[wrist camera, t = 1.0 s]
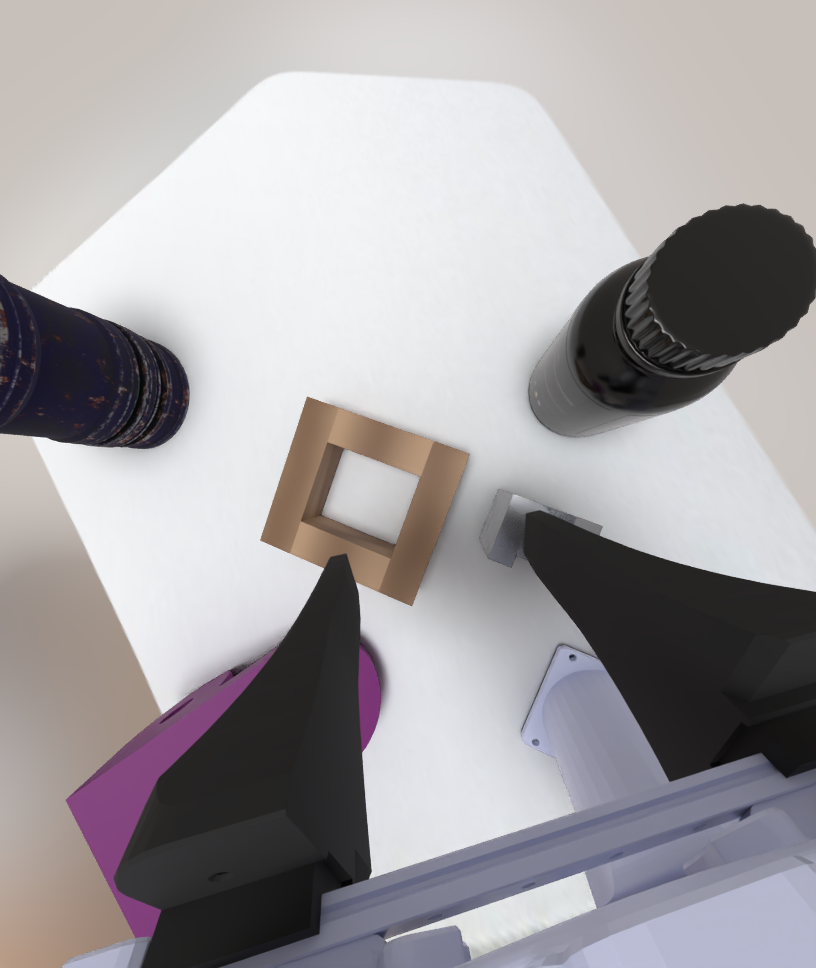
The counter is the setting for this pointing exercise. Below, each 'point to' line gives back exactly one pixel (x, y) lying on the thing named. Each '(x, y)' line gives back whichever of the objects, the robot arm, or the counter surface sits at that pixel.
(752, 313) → the supplement bottle
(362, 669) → the mounting bracket
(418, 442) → the well block
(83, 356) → the dark blue ribbed cylinder
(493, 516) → the bracket
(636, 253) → the counter surface
